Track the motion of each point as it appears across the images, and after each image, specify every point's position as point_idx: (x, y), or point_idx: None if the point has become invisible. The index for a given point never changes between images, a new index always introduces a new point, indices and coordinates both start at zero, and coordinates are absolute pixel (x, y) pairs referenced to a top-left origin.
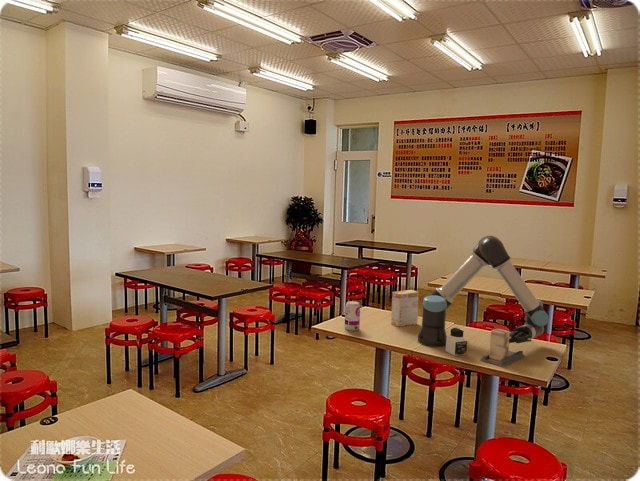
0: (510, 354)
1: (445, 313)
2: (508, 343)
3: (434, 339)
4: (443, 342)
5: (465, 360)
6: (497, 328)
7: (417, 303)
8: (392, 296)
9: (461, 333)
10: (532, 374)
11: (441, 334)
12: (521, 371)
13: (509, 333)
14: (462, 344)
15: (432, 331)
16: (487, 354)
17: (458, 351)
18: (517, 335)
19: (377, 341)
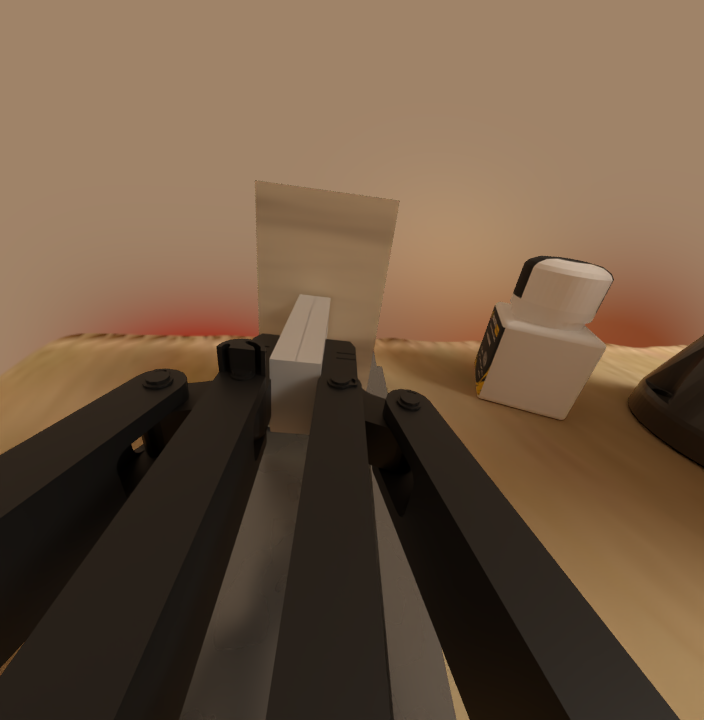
0: (269, 563)
1: None
2: (260, 310)
3: (655, 370)
4: (654, 406)
5: (413, 352)
6: (396, 200)
7: None
8: None
9: (522, 272)
10: (103, 360)
11: (696, 366)
12: (164, 364)
13: (256, 207)
14: (493, 332)
15: (700, 337)
16: (371, 369)
17: (480, 354)
18: (122, 587)
19: (676, 348)
